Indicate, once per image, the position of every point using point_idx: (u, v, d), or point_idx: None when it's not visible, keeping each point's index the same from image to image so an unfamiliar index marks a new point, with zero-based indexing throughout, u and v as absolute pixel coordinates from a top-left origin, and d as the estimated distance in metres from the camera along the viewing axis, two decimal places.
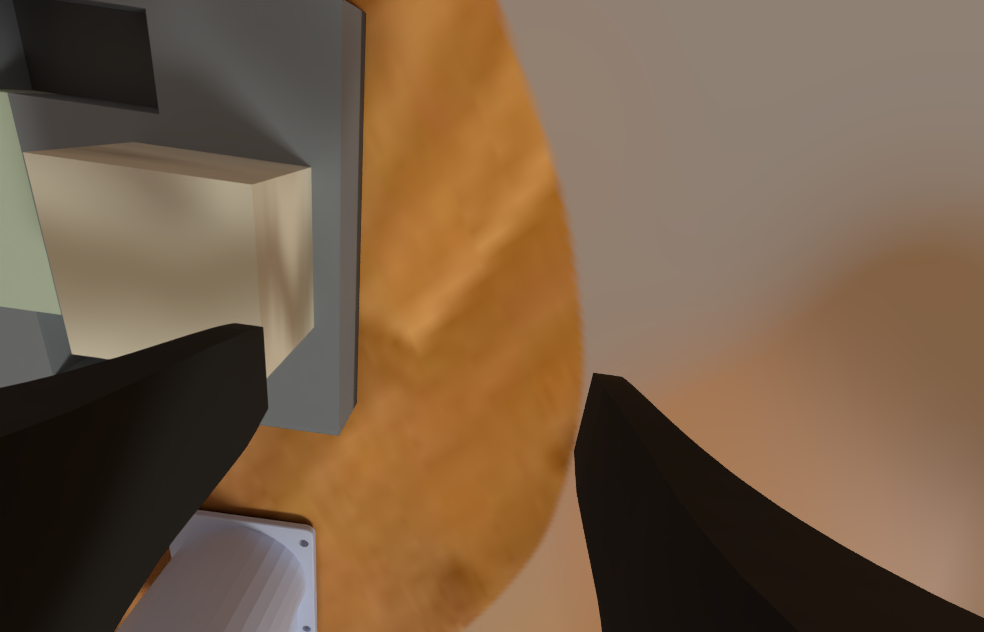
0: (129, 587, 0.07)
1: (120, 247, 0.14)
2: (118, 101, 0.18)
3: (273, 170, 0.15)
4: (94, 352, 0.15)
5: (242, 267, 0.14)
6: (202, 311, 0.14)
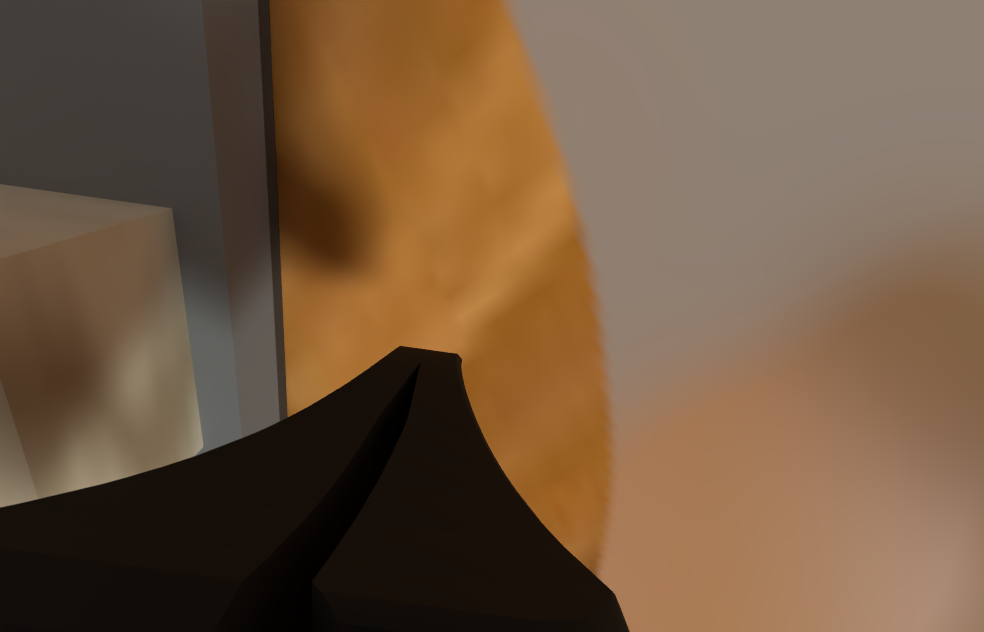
0: None
1: None
2: None
3: (81, 220, 0.08)
4: None
5: None
6: None
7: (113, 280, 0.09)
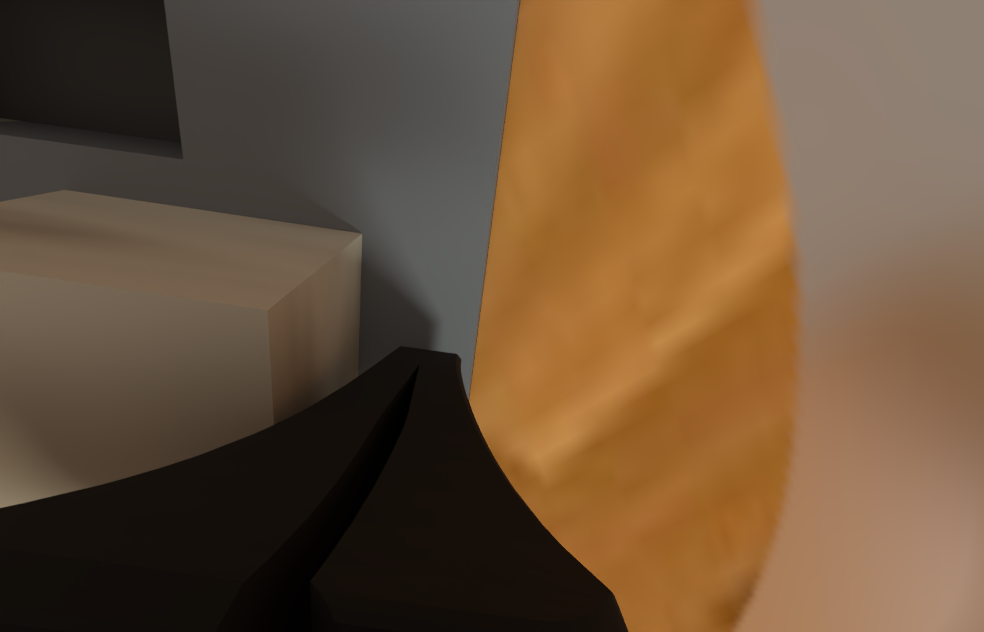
0: None
1: (10, 414, 0.07)
2: (114, 132, 0.11)
3: (302, 250, 0.08)
4: None
5: None
6: None
7: (330, 309, 0.09)
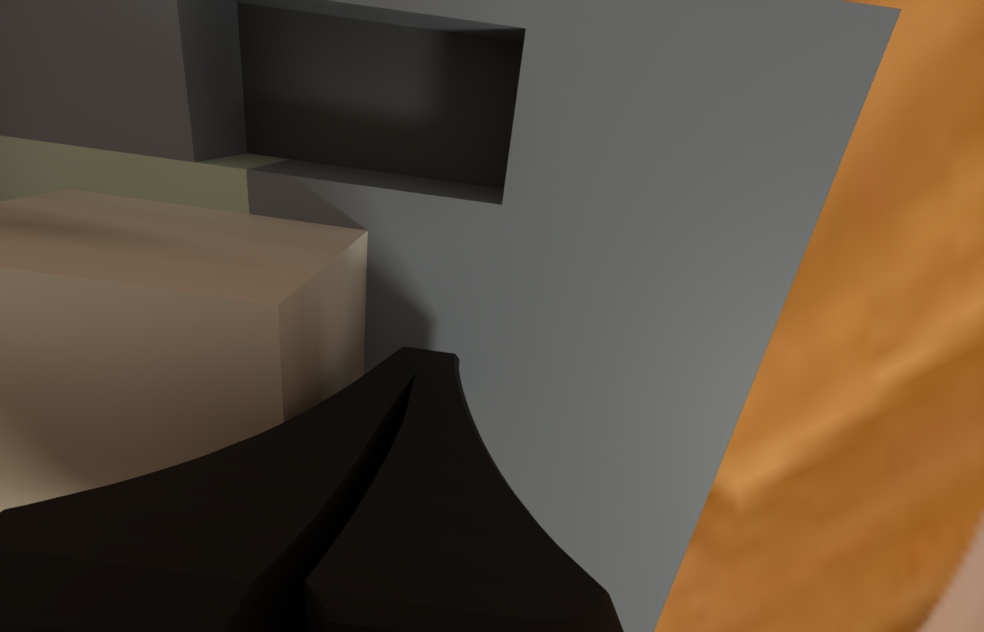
0: None
1: (19, 412, 0.07)
2: (382, 170, 0.11)
3: (309, 246, 0.08)
4: None
5: None
6: None
7: (337, 306, 0.09)
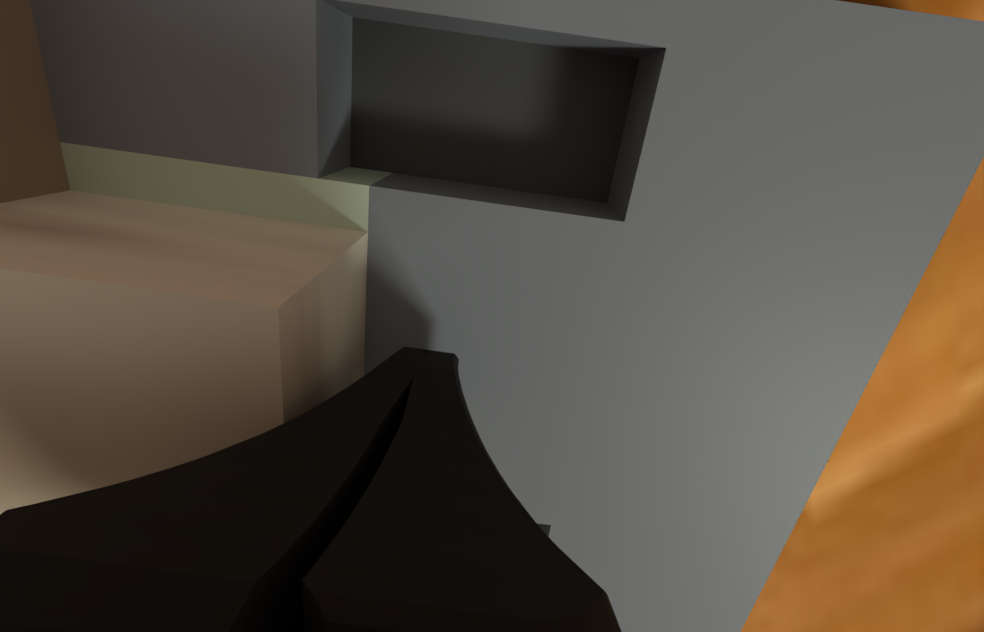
0: None
1: (19, 414, 0.07)
2: (485, 184, 0.11)
3: (309, 248, 0.08)
4: None
5: None
6: None
7: (337, 307, 0.09)
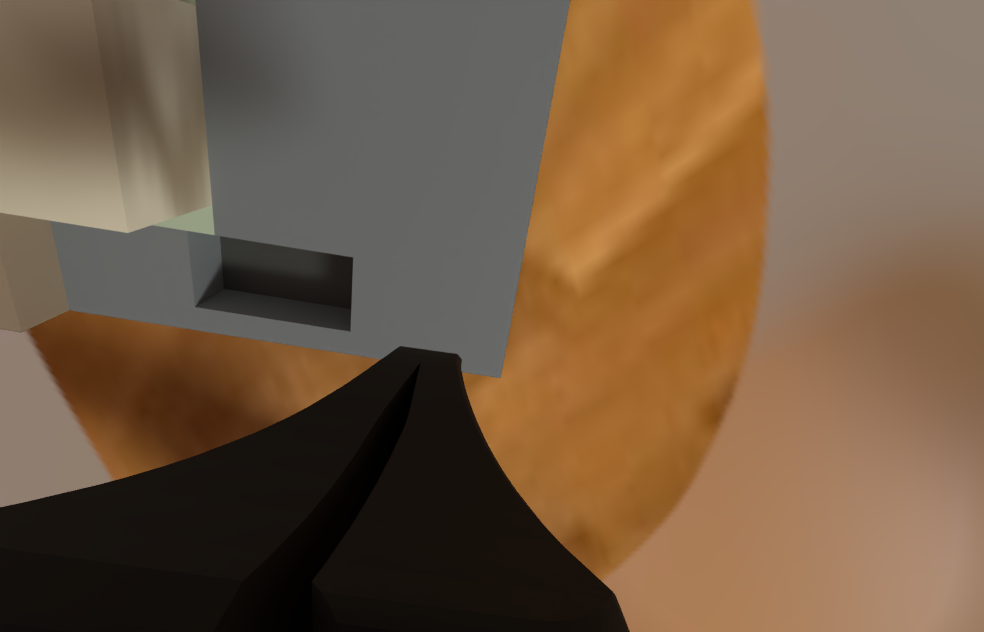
0: None
1: None
2: None
3: None
4: None
5: (87, 84, 0.12)
6: (48, 142, 0.12)
7: (159, 33, 0.13)
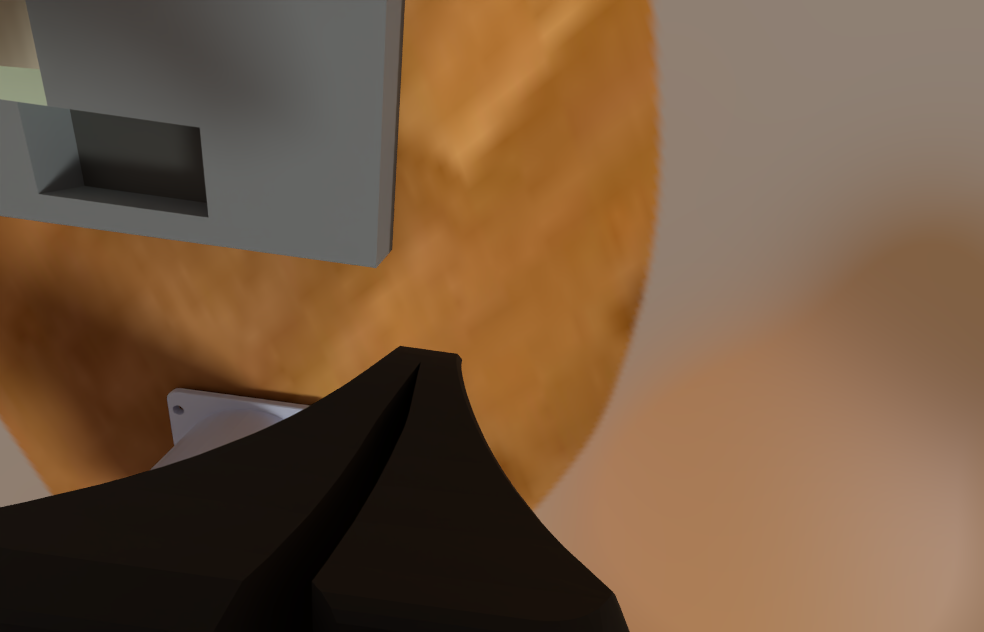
0: None
1: None
2: None
3: None
4: None
5: None
6: None
7: None
